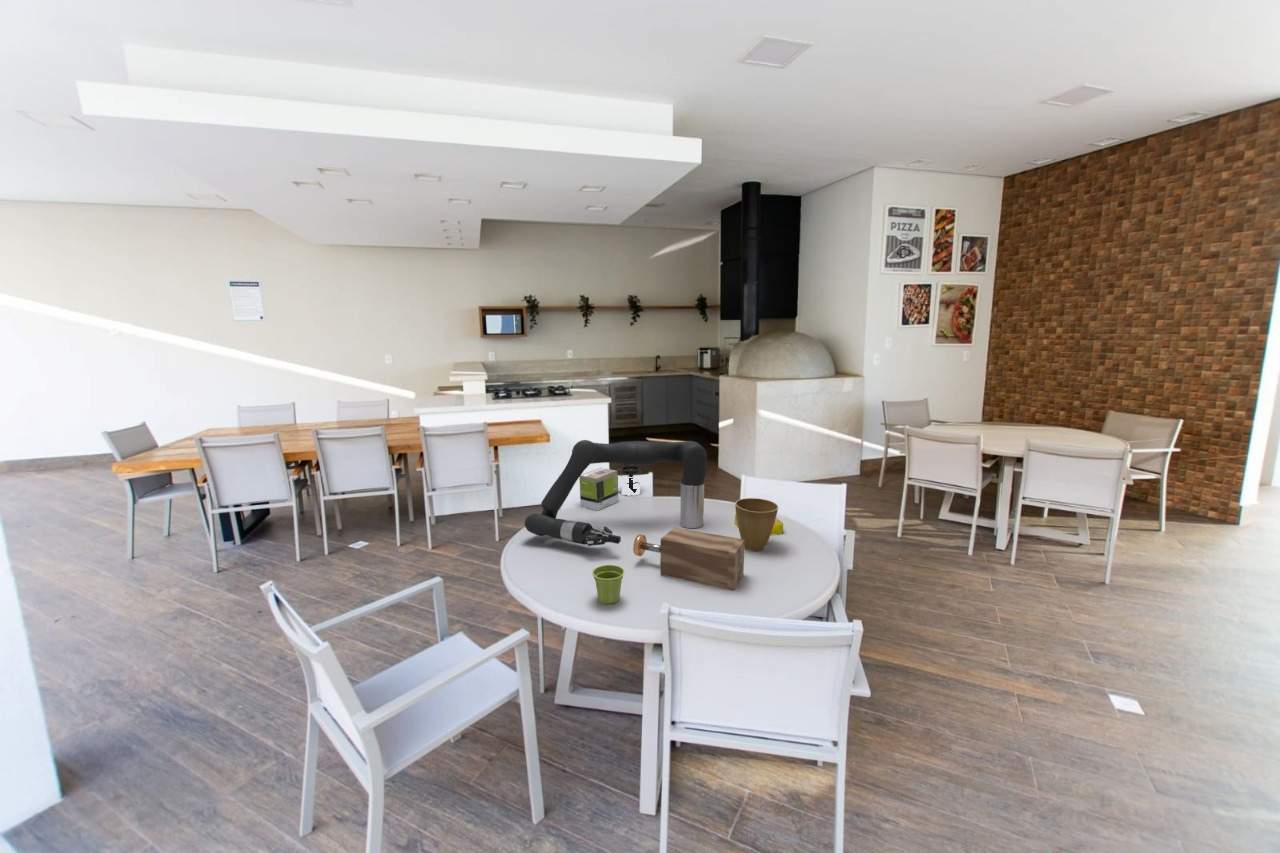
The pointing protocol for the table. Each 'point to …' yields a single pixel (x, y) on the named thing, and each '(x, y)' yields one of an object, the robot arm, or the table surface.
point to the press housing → (702, 558)
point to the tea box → (598, 488)
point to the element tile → (776, 528)
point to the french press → (630, 475)
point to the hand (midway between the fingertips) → (619, 540)
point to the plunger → (644, 546)
